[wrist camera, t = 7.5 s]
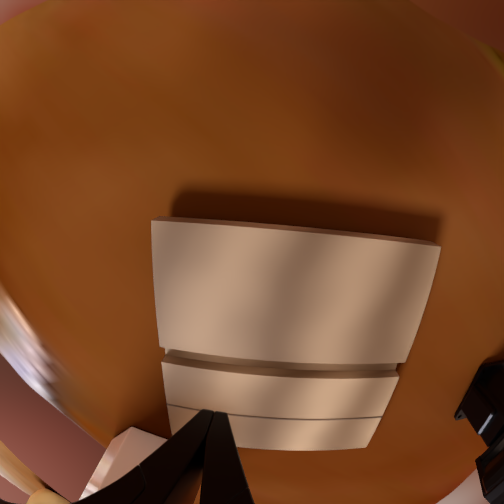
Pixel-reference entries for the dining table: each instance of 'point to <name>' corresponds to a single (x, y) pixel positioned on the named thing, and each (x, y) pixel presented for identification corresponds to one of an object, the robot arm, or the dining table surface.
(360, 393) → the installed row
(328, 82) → the dining table surface
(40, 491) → the sculpture
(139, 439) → the jar
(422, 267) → the plank
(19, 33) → the dining table surface
